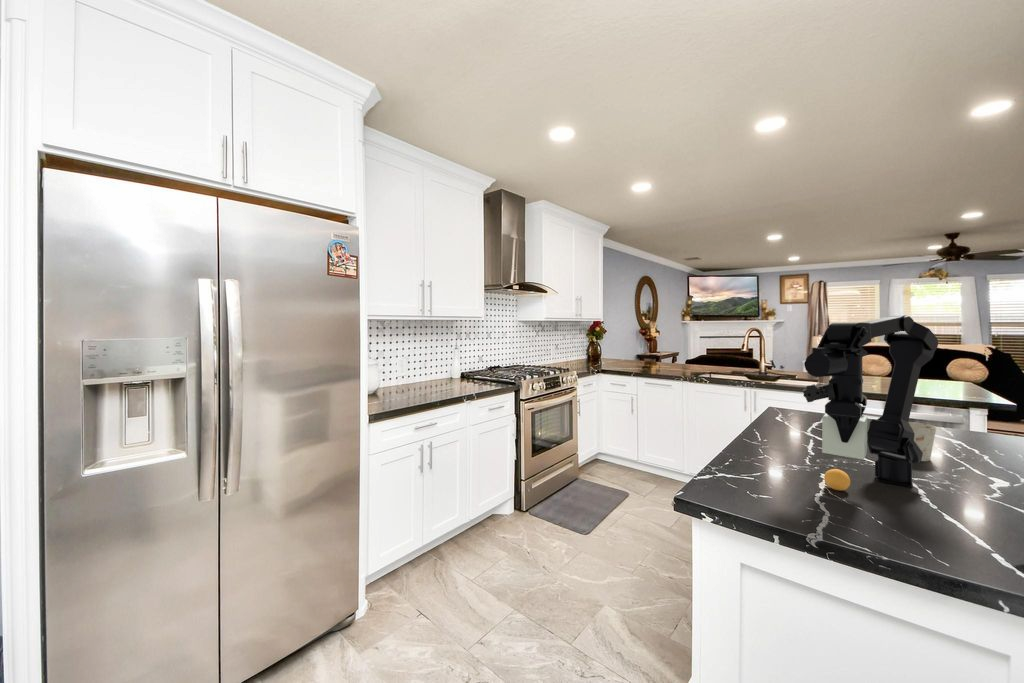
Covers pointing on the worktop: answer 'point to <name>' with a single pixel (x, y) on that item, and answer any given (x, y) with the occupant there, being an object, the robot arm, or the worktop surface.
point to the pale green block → (837, 447)
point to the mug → (924, 438)
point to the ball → (837, 479)
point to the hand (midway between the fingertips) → (846, 438)
